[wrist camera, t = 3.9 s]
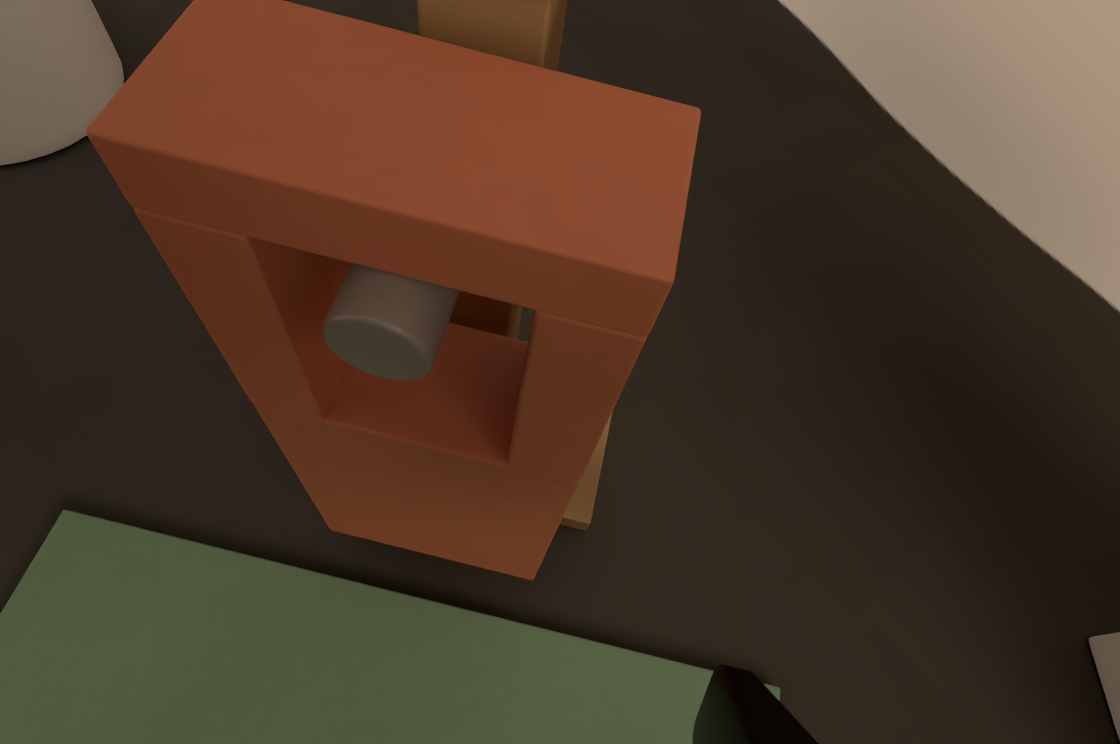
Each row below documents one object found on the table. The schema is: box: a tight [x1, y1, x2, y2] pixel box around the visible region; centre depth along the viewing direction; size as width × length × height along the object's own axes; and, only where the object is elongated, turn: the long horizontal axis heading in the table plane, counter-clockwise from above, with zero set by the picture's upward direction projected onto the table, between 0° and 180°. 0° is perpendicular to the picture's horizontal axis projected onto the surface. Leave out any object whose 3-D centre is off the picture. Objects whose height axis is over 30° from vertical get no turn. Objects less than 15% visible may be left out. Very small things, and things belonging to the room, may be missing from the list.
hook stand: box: [322, 0, 612, 531], centre depth 14 cm, size 7×8×16 cm
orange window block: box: [86, 0, 701, 580], centre depth 12 cm, size 2×5×13 cm, turn 78°
